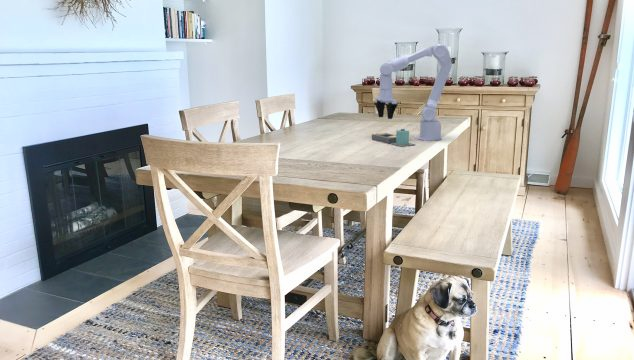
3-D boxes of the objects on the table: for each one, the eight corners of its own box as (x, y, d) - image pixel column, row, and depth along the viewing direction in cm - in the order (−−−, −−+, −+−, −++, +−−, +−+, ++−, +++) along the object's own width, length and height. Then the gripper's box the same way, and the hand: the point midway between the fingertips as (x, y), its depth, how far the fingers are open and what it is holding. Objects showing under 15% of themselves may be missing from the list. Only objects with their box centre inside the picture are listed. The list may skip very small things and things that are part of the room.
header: (385, 138, 254) (385, 132, 253) (403, 142, 242) (403, 136, 241) (371, 139, 250) (371, 133, 250) (388, 143, 238) (389, 137, 237)
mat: (404, 142, 241) (404, 141, 241) (415, 145, 234) (415, 144, 234) (390, 144, 237) (390, 143, 237) (400, 146, 230) (400, 146, 230)
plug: (403, 142, 238) (403, 128, 237) (408, 144, 235) (409, 129, 233) (396, 143, 236) (396, 129, 235) (401, 145, 233) (401, 130, 231)
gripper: (370, 88, 251) (369, 116, 255) (387, 90, 239) (387, 120, 242) (382, 87, 254) (382, 115, 258) (400, 89, 242) (399, 119, 245)
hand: (385, 118), depth 250 cm, fingers open, 7 cm apart
